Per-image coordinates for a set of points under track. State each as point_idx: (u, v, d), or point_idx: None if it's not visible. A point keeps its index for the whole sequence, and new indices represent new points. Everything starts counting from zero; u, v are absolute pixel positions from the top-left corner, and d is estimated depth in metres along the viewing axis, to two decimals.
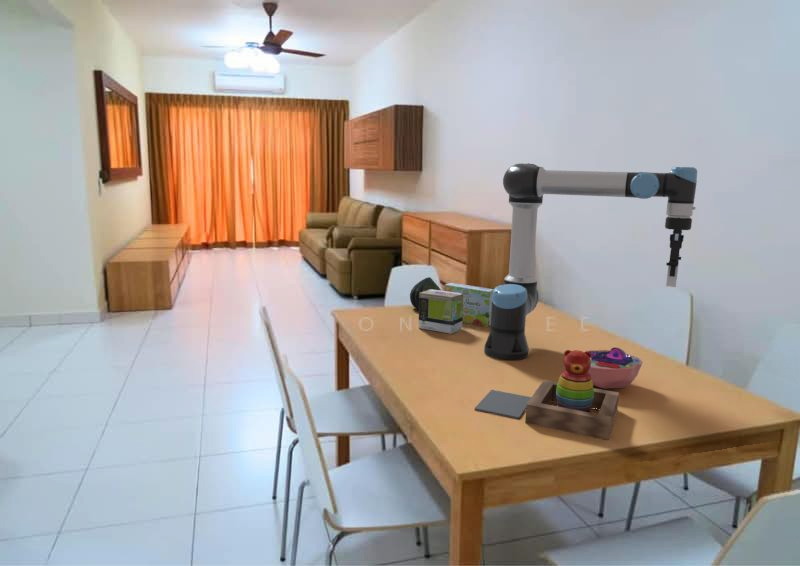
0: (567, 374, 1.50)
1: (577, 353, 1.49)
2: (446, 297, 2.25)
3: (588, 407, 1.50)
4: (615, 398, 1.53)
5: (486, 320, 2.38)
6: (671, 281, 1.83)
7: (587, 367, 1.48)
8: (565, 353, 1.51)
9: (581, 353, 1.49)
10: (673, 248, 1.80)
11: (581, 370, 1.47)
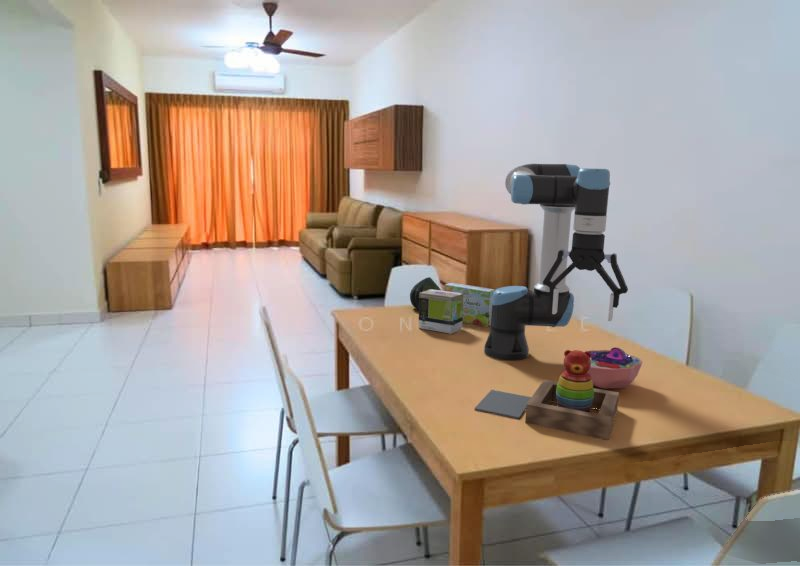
0: (567, 374, 1.50)
1: (577, 353, 1.49)
2: (446, 297, 2.25)
3: (588, 407, 1.50)
4: (615, 398, 1.53)
5: (486, 320, 2.38)
6: None
7: (587, 367, 1.48)
8: (565, 353, 1.51)
9: (581, 353, 1.49)
10: None
11: (581, 370, 1.47)
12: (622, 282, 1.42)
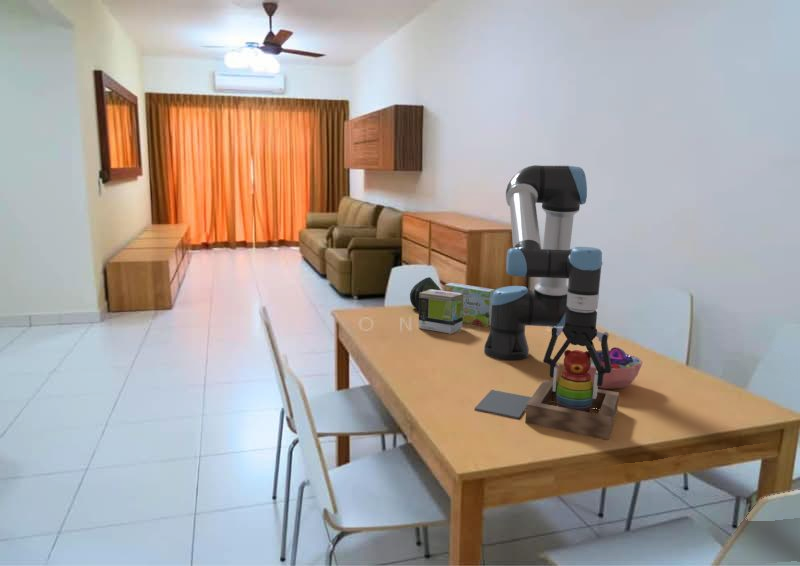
0: (567, 374, 1.50)
1: (577, 353, 1.49)
2: (446, 297, 2.25)
3: (588, 407, 1.50)
4: (615, 398, 1.53)
5: (486, 320, 2.38)
6: None
7: (587, 367, 1.48)
8: (565, 353, 1.51)
9: (581, 353, 1.49)
10: None
11: (581, 370, 1.47)
12: (608, 362, 1.46)
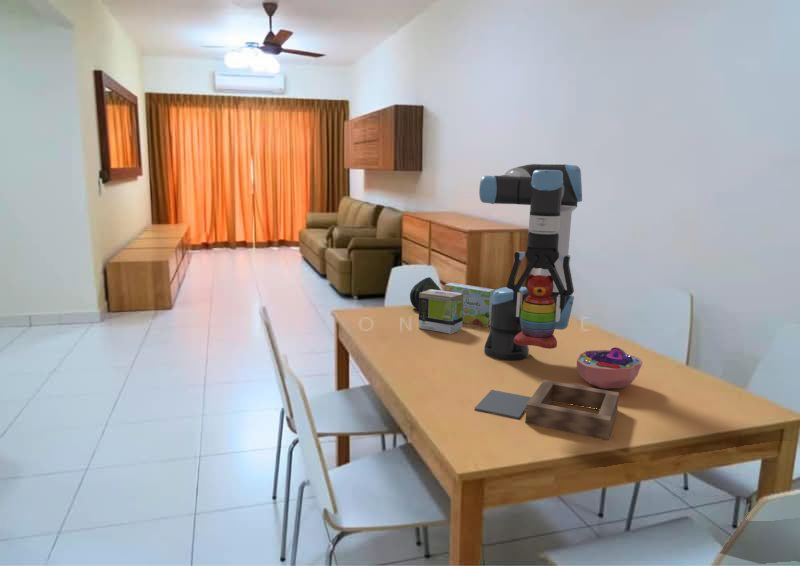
0: (530, 298, 1.51)
1: (540, 276, 1.50)
2: (446, 297, 2.25)
3: (551, 330, 1.51)
4: (615, 398, 1.53)
5: (486, 320, 2.38)
6: None
7: (549, 290, 1.48)
8: (528, 278, 1.52)
9: (544, 276, 1.50)
10: None
11: (544, 293, 1.48)
12: (569, 284, 1.47)
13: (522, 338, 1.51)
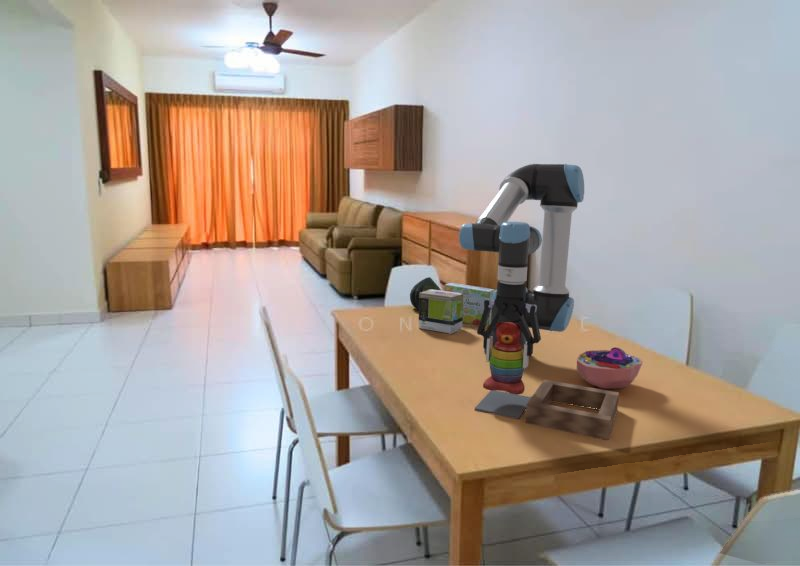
0: (498, 345, 1.56)
1: (508, 324, 1.55)
2: (446, 297, 2.25)
3: (519, 376, 1.56)
4: (615, 398, 1.53)
5: None
6: None
7: (517, 337, 1.53)
8: (497, 325, 1.57)
9: (512, 324, 1.55)
10: None
11: (511, 340, 1.53)
12: (536, 333, 1.52)
13: (490, 383, 1.56)
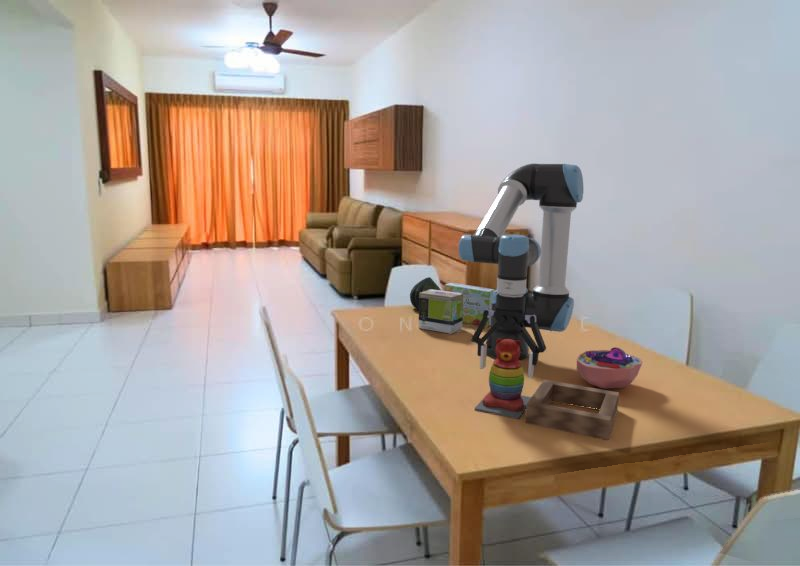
0: (497, 362, 1.57)
1: (507, 341, 1.56)
2: (446, 297, 2.25)
3: (518, 393, 1.57)
4: (615, 398, 1.53)
5: None
6: None
7: (516, 355, 1.54)
8: (497, 342, 1.58)
9: (511, 341, 1.56)
10: None
11: (510, 358, 1.54)
12: (540, 342, 1.52)
13: (489, 399, 1.57)
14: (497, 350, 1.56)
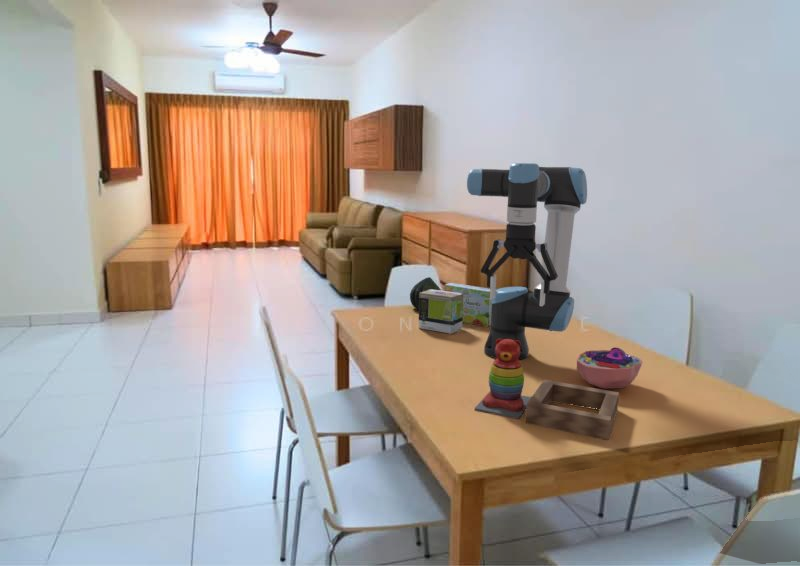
0: (497, 362, 1.57)
1: (507, 341, 1.56)
2: (446, 297, 2.25)
3: (518, 393, 1.57)
4: (615, 398, 1.53)
5: (486, 320, 2.38)
6: None
7: (516, 355, 1.54)
8: (496, 342, 1.58)
9: (511, 341, 1.56)
10: None
11: (510, 358, 1.54)
12: (551, 270, 1.52)
13: (489, 400, 1.57)
14: (497, 350, 1.56)
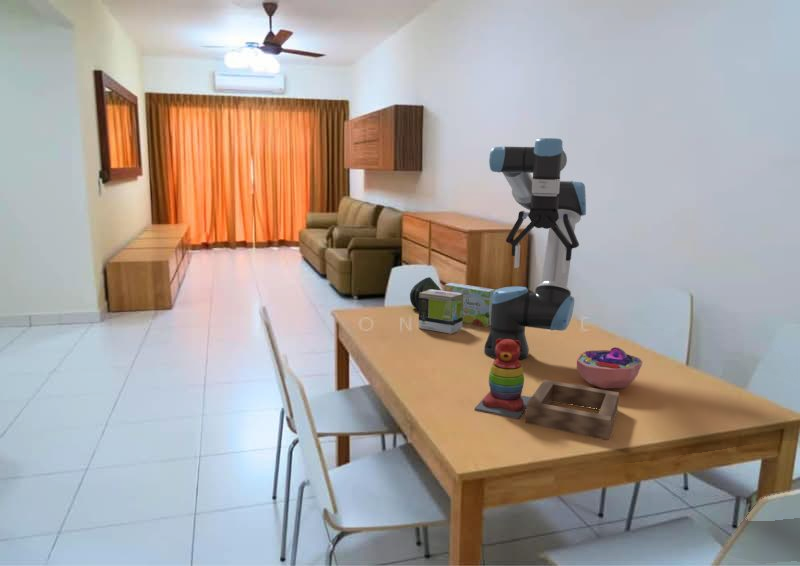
0: (497, 362, 1.57)
1: (507, 341, 1.56)
2: (446, 297, 2.25)
3: (518, 393, 1.57)
4: (615, 398, 1.53)
5: (486, 320, 2.38)
6: None
7: (516, 355, 1.54)
8: (496, 342, 1.58)
9: (511, 341, 1.56)
10: None
11: (510, 358, 1.54)
12: (573, 238, 1.62)
13: (489, 400, 1.57)
14: (497, 350, 1.56)
